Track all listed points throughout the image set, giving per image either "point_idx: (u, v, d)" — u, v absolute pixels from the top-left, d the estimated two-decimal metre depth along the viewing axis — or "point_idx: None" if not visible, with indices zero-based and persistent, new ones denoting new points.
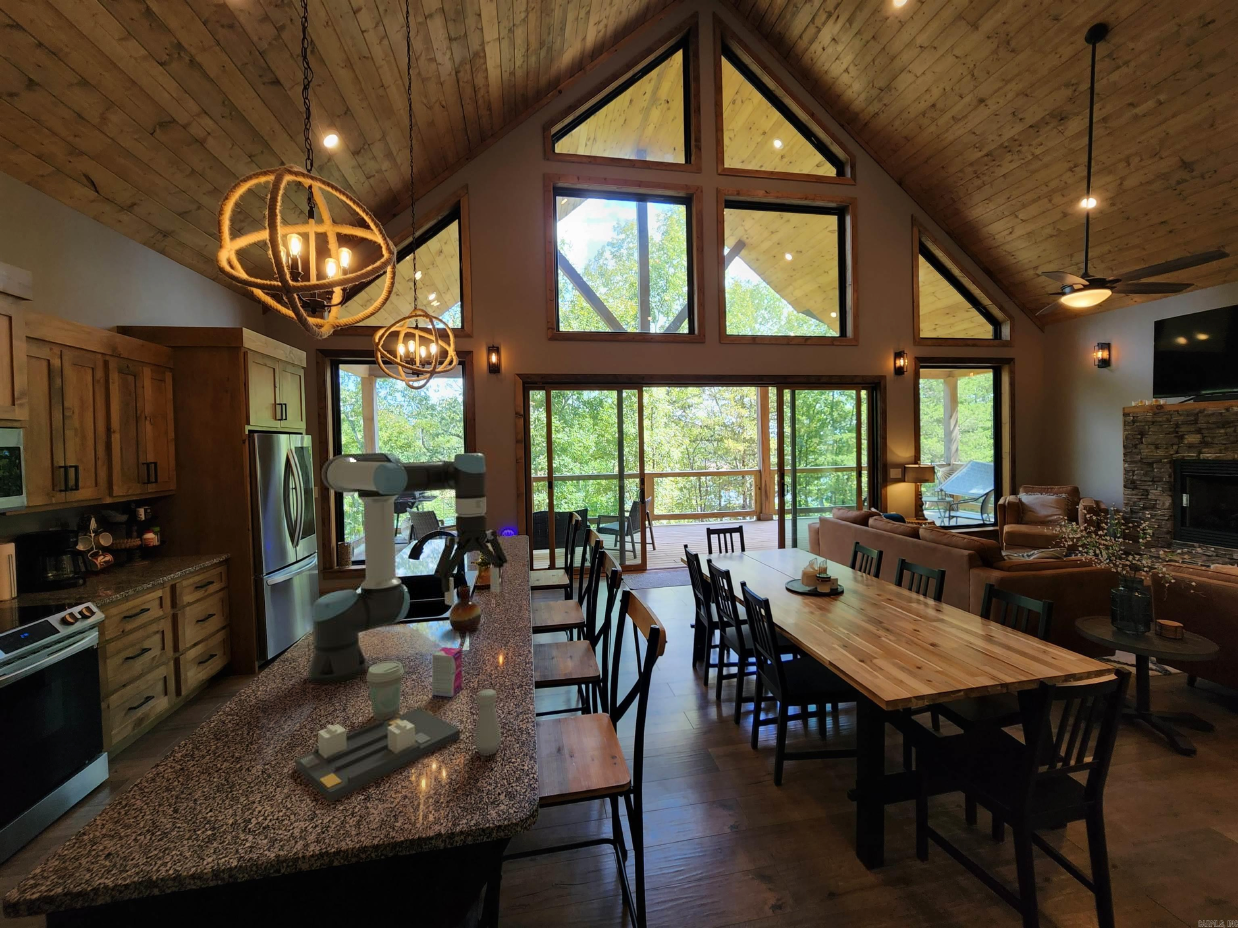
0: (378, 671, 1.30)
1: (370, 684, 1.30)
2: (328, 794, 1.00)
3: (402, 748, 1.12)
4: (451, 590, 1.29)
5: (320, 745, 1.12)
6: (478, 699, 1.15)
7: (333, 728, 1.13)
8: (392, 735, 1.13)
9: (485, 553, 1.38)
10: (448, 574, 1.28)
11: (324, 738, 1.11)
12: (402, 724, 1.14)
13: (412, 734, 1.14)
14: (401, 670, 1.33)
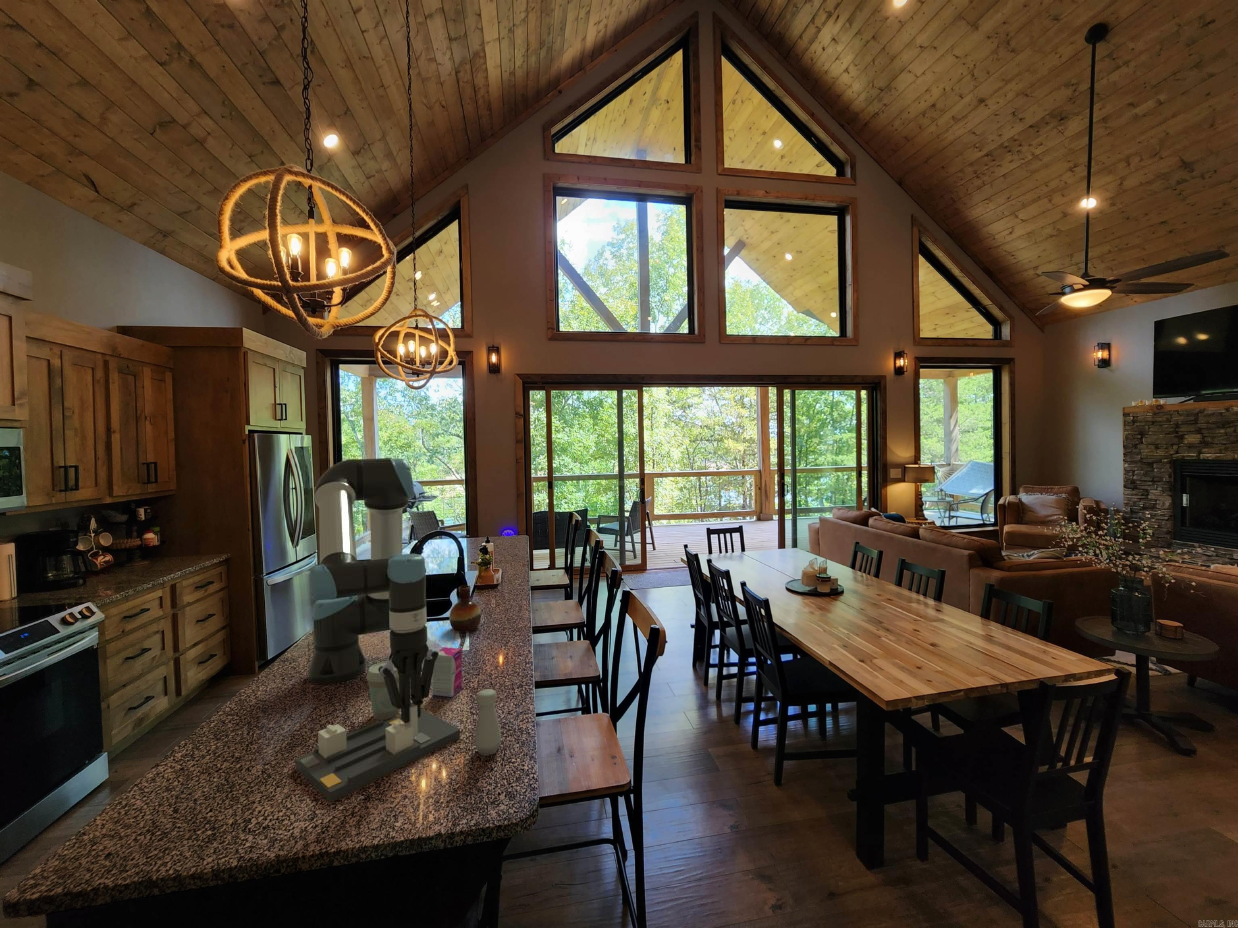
0: (378, 671, 1.30)
1: (370, 684, 1.30)
2: (328, 794, 1.00)
3: (400, 749, 1.12)
4: (411, 720, 1.15)
5: (320, 745, 1.12)
6: (478, 699, 1.15)
7: (333, 728, 1.13)
8: (390, 736, 1.12)
9: (413, 677, 1.16)
10: (406, 704, 1.14)
11: (324, 738, 1.11)
12: (400, 725, 1.14)
13: (410, 735, 1.14)
14: None
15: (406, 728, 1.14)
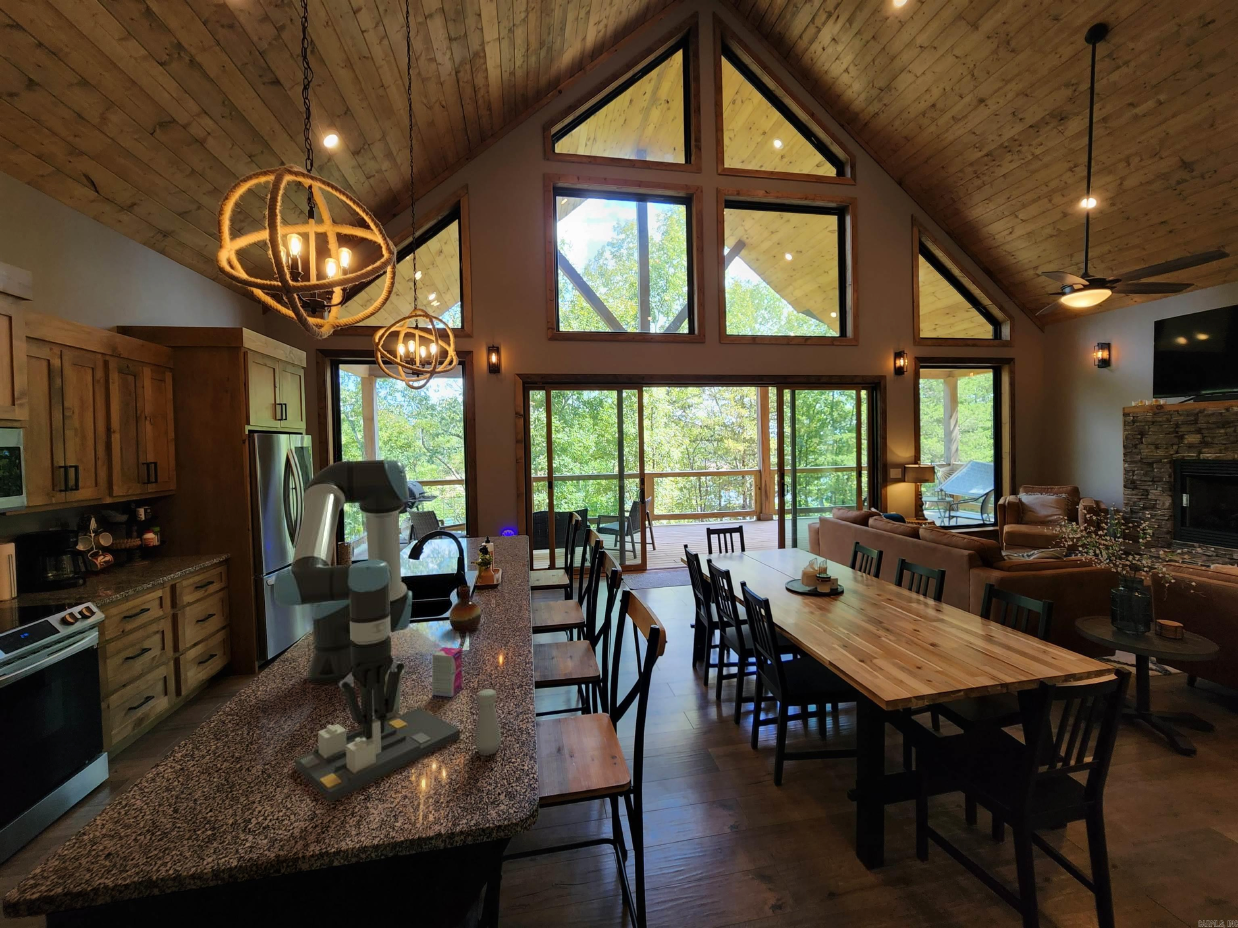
0: None
1: None
2: (328, 794, 1.00)
3: (361, 767, 1.06)
4: (374, 737, 1.09)
5: (320, 745, 1.12)
6: (478, 699, 1.15)
7: (333, 728, 1.13)
8: (350, 754, 1.06)
9: (376, 691, 1.10)
10: (368, 719, 1.08)
11: (324, 738, 1.11)
12: (361, 742, 1.07)
13: (372, 752, 1.08)
14: None
15: (368, 745, 1.07)
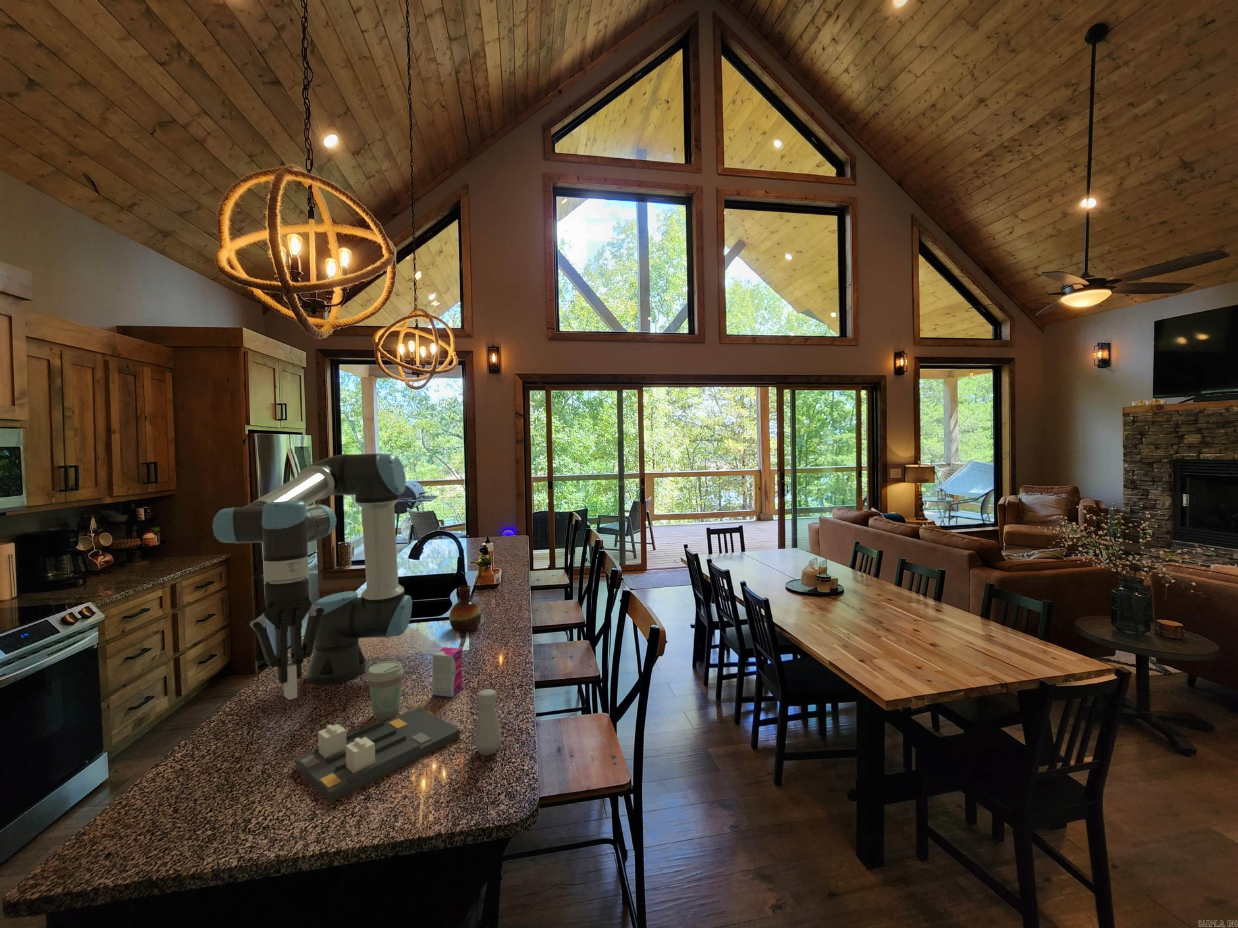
0: (378, 671, 1.30)
1: (370, 684, 1.30)
2: (328, 794, 1.00)
3: (360, 768, 1.06)
4: (289, 681, 1.05)
5: (320, 745, 1.12)
6: (478, 699, 1.15)
7: (333, 728, 1.13)
8: (350, 754, 1.06)
9: (292, 634, 1.07)
10: (283, 662, 1.04)
11: (324, 738, 1.11)
12: (361, 742, 1.07)
13: (372, 752, 1.08)
14: (401, 670, 1.33)
15: (367, 745, 1.07)
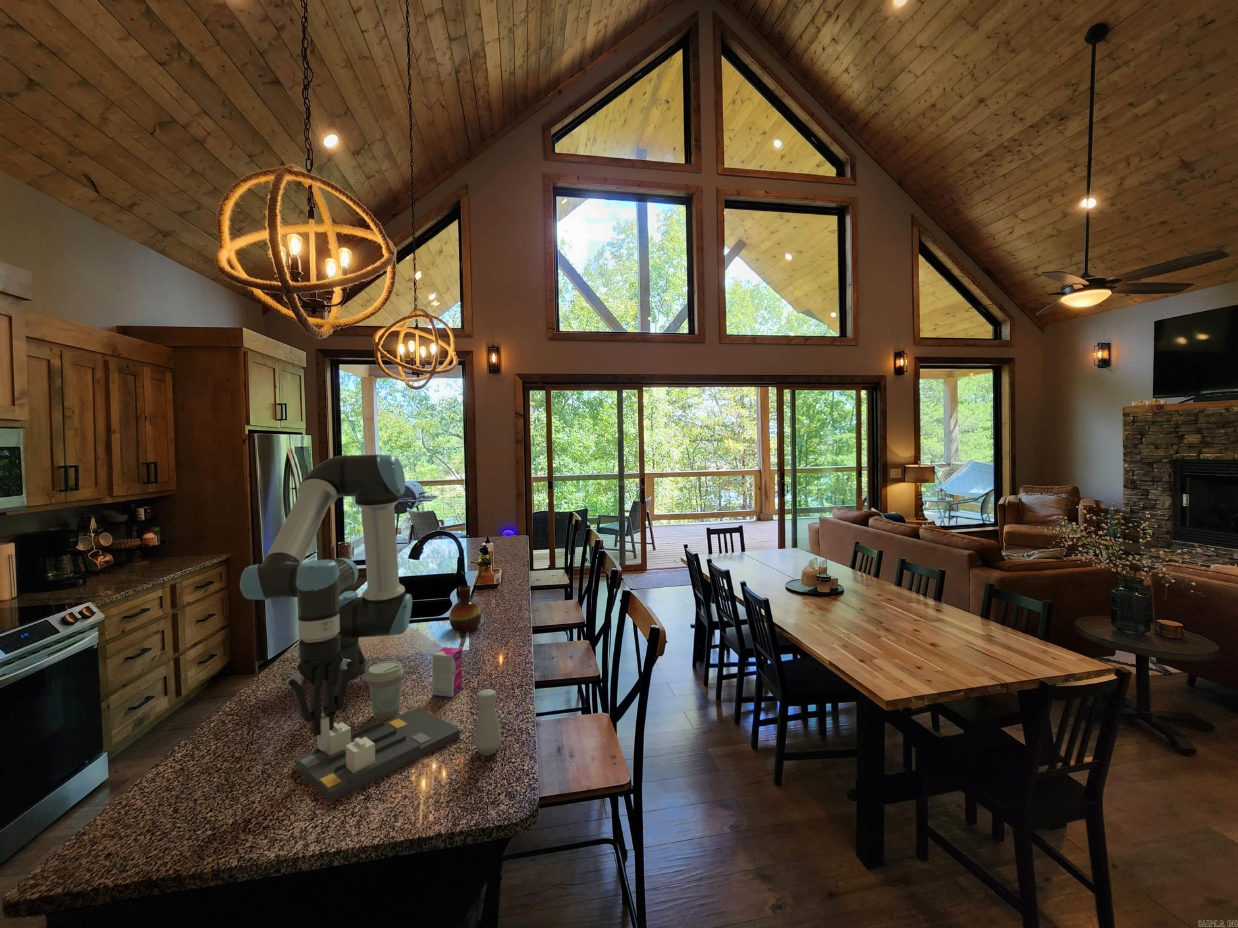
0: (378, 671, 1.30)
1: (370, 684, 1.30)
2: (328, 794, 1.00)
3: (360, 768, 1.06)
4: (322, 733, 1.10)
5: None
6: (478, 699, 1.15)
7: (338, 726, 1.13)
8: (350, 754, 1.06)
9: (325, 688, 1.12)
10: (316, 716, 1.10)
11: None
12: (361, 742, 1.07)
13: (372, 752, 1.08)
14: (401, 670, 1.33)
15: (367, 745, 1.07)
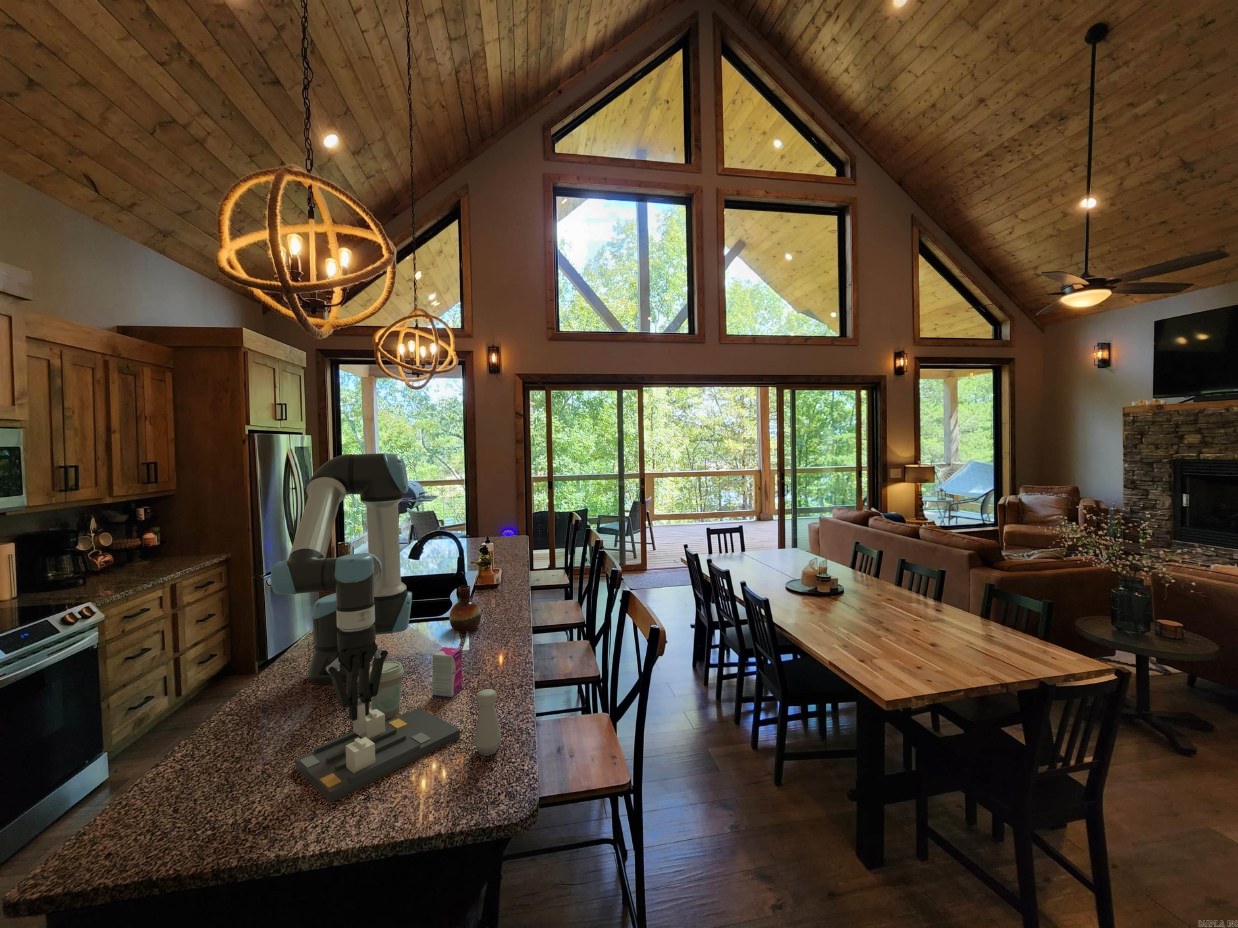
0: None
1: None
2: (328, 794, 1.00)
3: (360, 768, 1.06)
4: (359, 718, 1.16)
5: None
6: (478, 699, 1.15)
7: (373, 712, 1.19)
8: (350, 754, 1.06)
9: (361, 676, 1.18)
10: (353, 702, 1.15)
11: None
12: (361, 742, 1.07)
13: (372, 752, 1.08)
14: (401, 670, 1.33)
15: (367, 745, 1.07)
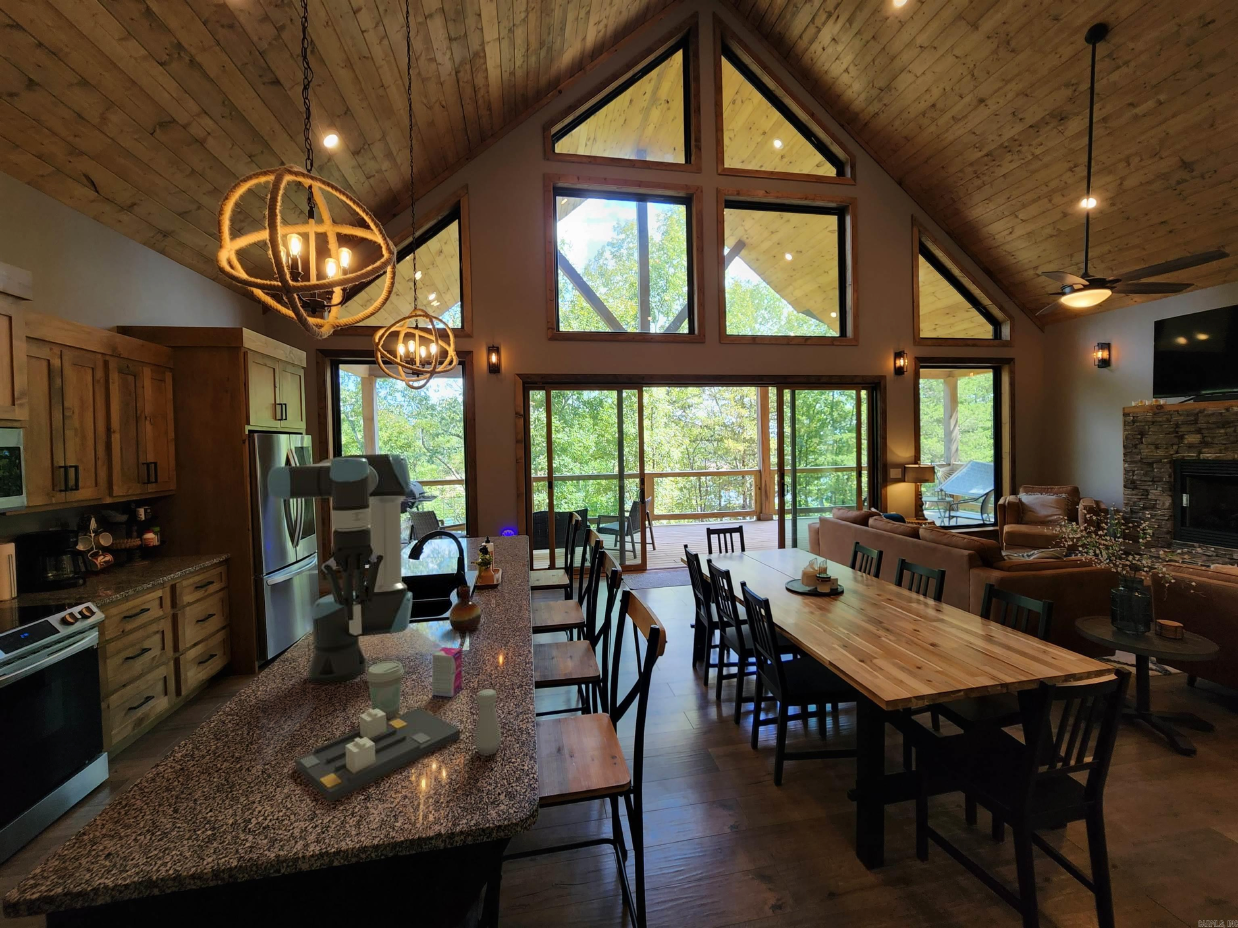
0: (378, 671, 1.30)
1: (370, 684, 1.30)
2: (328, 794, 1.00)
3: (360, 768, 1.06)
4: (354, 618, 1.18)
5: (362, 728, 1.19)
6: (478, 699, 1.15)
7: (374, 712, 1.19)
8: (350, 754, 1.06)
9: (356, 578, 1.19)
10: (349, 602, 1.17)
11: (366, 721, 1.17)
12: (361, 742, 1.07)
13: (372, 752, 1.08)
14: (401, 670, 1.33)
15: (367, 745, 1.07)
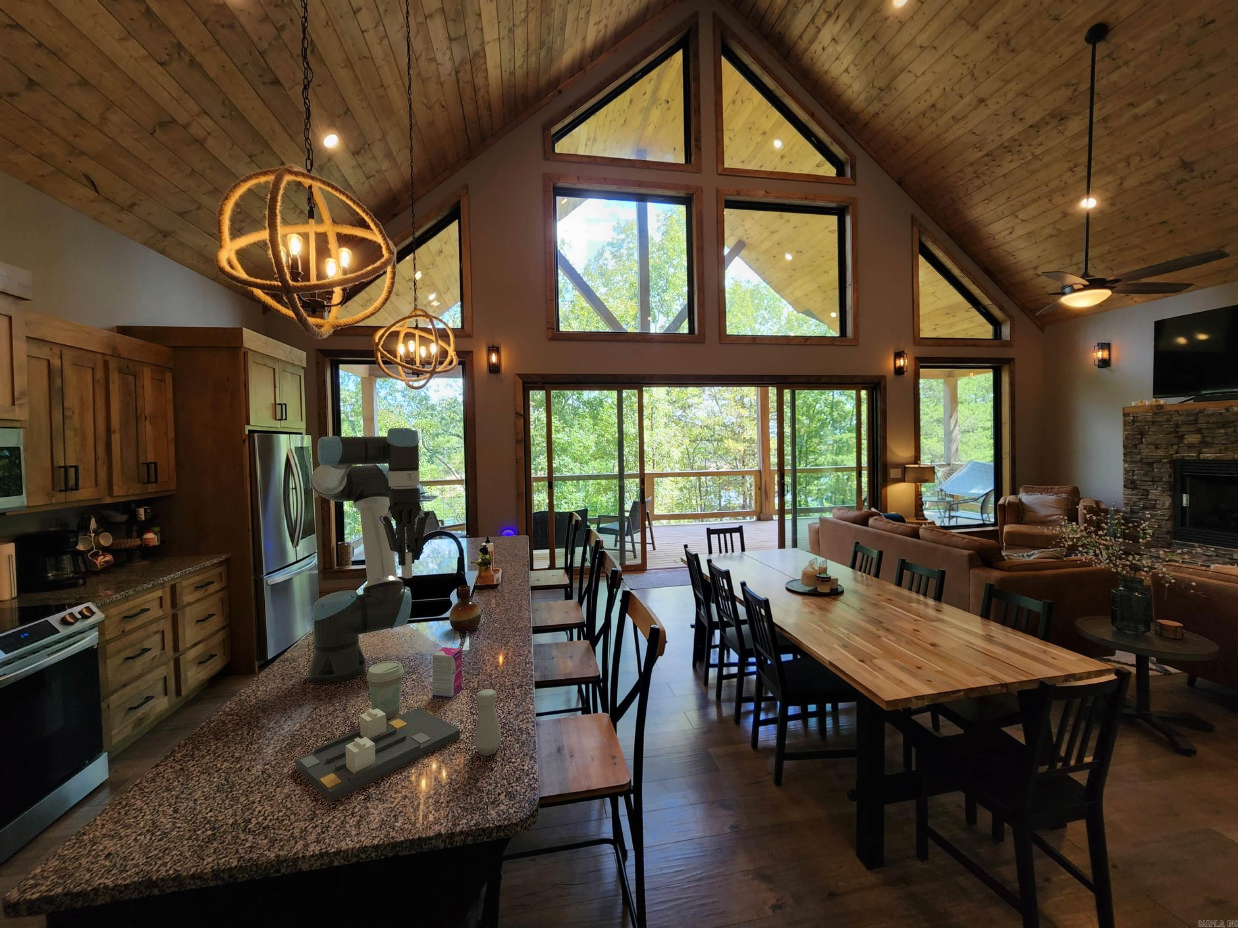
0: (378, 671, 1.30)
1: (370, 684, 1.30)
2: (328, 794, 1.00)
3: (360, 768, 1.06)
4: (407, 564, 1.39)
5: (362, 728, 1.19)
6: (478, 699, 1.15)
7: (374, 712, 1.19)
8: (350, 754, 1.06)
9: (408, 530, 1.40)
10: (402, 549, 1.38)
11: (366, 721, 1.17)
12: (361, 742, 1.07)
13: (372, 752, 1.08)
14: (401, 670, 1.33)
15: (367, 745, 1.07)
